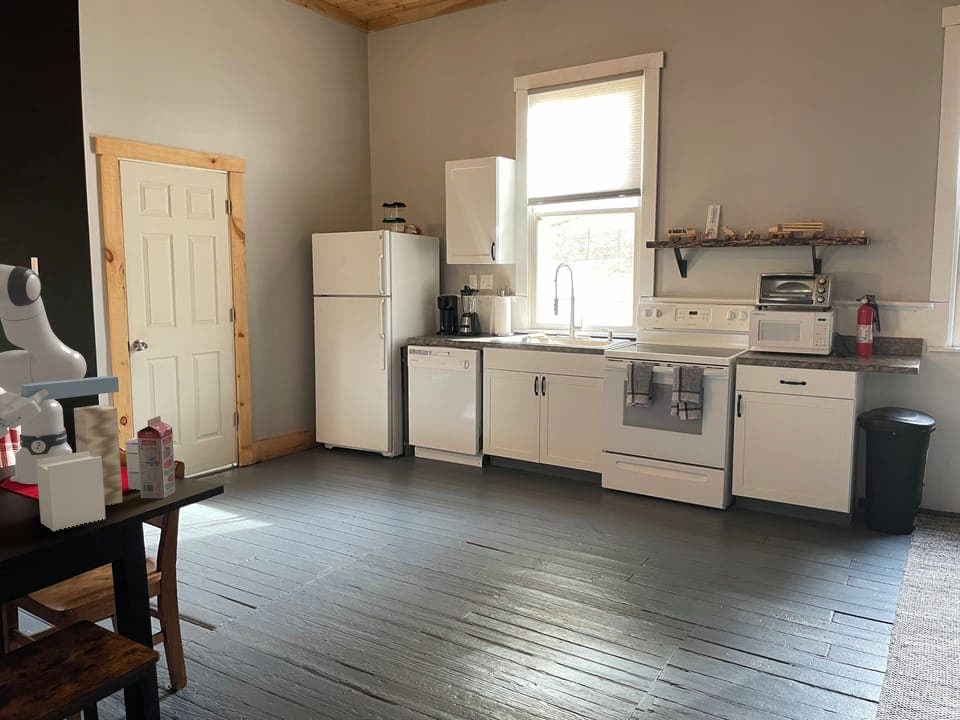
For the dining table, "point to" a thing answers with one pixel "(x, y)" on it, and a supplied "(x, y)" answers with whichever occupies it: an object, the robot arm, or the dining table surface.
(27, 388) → the bar
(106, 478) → the post
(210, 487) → the dining table surface
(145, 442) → the juice carton
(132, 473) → the syrup box
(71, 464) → the cream block
